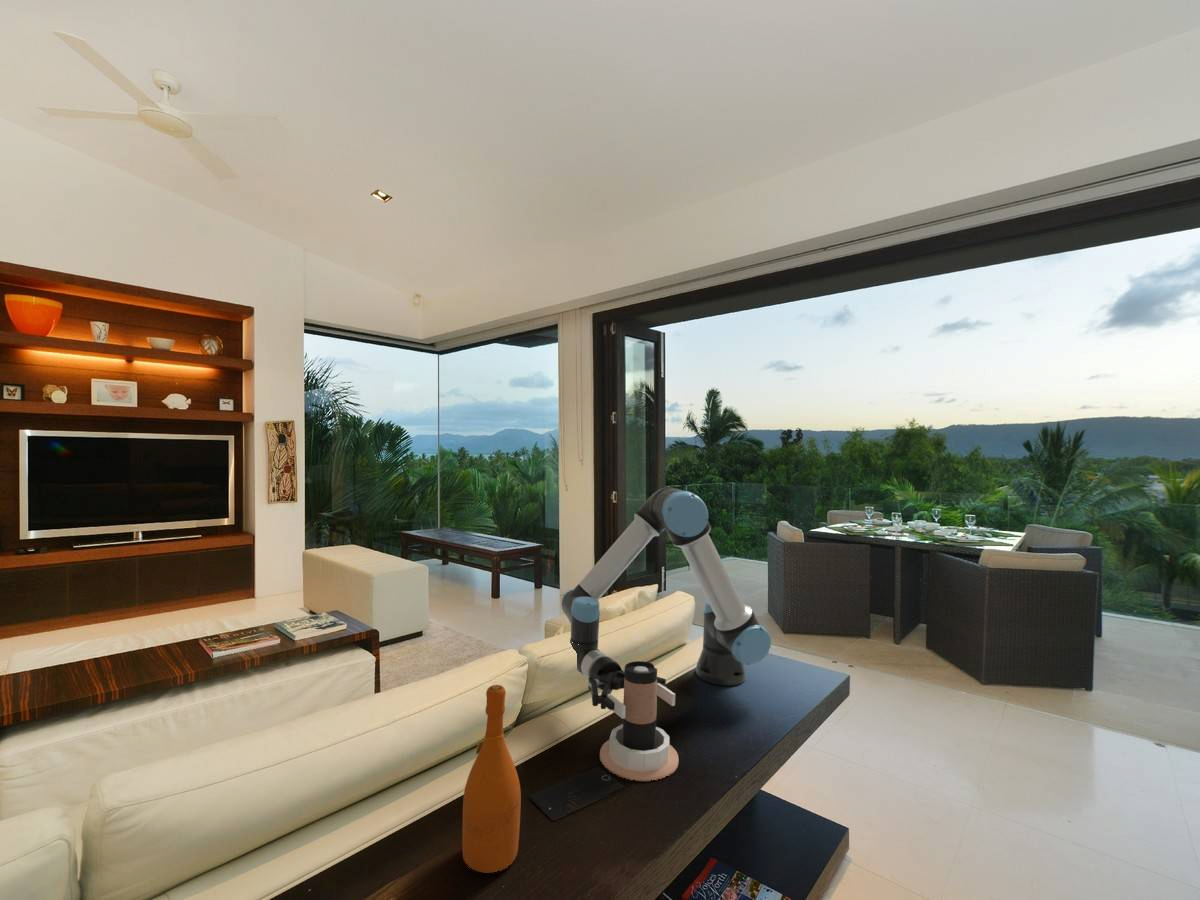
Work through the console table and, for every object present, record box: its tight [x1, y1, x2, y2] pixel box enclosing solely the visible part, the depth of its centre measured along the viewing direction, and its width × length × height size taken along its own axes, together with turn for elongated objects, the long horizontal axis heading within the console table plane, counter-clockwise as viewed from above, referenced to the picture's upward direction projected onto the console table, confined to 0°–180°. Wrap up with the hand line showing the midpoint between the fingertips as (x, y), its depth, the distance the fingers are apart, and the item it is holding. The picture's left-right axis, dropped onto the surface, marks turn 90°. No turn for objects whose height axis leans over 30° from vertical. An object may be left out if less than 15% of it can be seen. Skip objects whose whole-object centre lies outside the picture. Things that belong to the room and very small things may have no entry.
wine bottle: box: [461, 684, 522, 874], centre depth 101 cm, size 10×10×30 cm
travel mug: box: [622, 660, 658, 751], centre depth 134 cm, size 8×8×20 cm
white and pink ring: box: [599, 723, 680, 782], centre depth 134 cm, size 18×18×5 cm
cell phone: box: [529, 766, 624, 819], centre depth 120 cm, size 9×18×1 cm, turn 129°
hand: (649, 706), depth 131 cm, fingers open, 13 cm apart
